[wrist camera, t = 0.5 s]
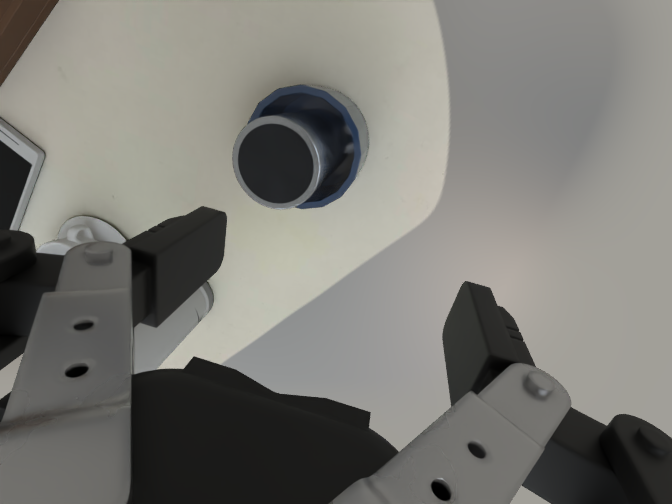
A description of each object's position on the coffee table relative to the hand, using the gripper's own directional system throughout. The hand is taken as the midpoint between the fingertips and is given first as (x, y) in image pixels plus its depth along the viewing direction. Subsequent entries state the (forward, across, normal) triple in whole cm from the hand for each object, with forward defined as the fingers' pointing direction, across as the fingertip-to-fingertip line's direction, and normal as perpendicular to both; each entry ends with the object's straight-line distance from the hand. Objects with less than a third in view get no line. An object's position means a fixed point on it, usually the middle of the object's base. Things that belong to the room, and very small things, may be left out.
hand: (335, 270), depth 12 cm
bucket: (+21, +6, 0) cm, 22 cm away
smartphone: (+21, +40, +13) cm, 47 cm away
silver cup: (+21, +6, 0) cm, 22 cm away
